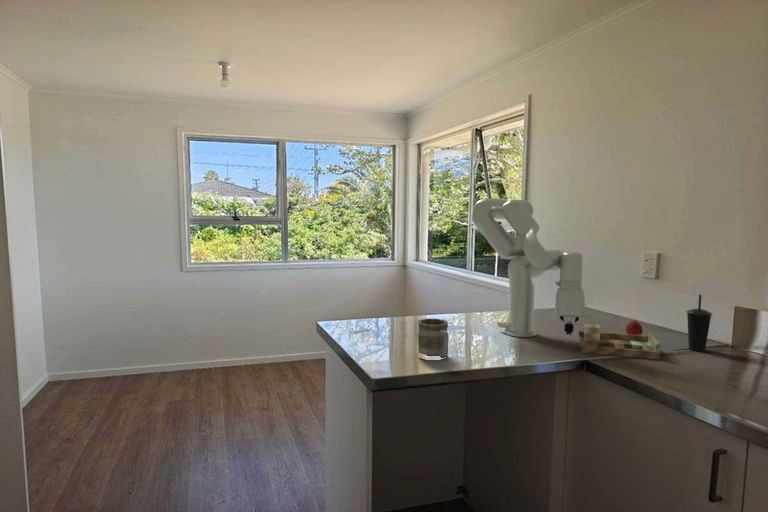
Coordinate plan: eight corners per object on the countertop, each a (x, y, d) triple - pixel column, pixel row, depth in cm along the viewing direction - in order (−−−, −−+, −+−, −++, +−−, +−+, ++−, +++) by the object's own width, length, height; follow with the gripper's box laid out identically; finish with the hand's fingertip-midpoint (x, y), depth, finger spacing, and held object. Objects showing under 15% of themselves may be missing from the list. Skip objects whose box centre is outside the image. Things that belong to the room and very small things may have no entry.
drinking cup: (705, 347, 171) (709, 293, 169) (712, 353, 164) (716, 297, 162) (681, 345, 173) (684, 292, 171) (687, 351, 166) (691, 295, 164)
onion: (644, 341, 179) (645, 321, 178) (627, 340, 180) (628, 320, 179) (639, 337, 184) (640, 317, 183) (623, 336, 185) (624, 317, 185)
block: (584, 340, 171) (585, 327, 171) (583, 337, 176) (584, 324, 175) (599, 341, 170) (600, 328, 169) (598, 338, 174) (598, 325, 174)
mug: (411, 353, 165) (411, 319, 163) (439, 350, 168) (439, 317, 167) (431, 367, 150) (432, 330, 149) (461, 363, 154) (461, 327, 153)
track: (581, 352, 165) (582, 337, 164) (578, 342, 178) (579, 327, 178) (659, 359, 157) (659, 343, 157) (649, 347, 170) (650, 333, 170)
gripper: (549, 285, 172) (547, 334, 174) (593, 287, 167) (591, 338, 169) (548, 282, 179) (547, 329, 181) (591, 284, 175) (589, 333, 176)
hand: (568, 333), depth 175 cm, fingers closed
